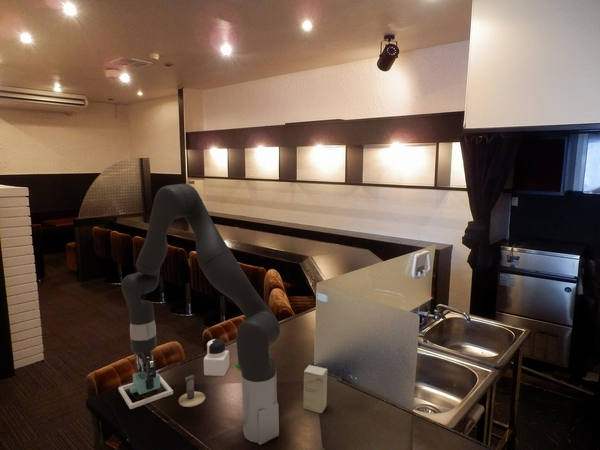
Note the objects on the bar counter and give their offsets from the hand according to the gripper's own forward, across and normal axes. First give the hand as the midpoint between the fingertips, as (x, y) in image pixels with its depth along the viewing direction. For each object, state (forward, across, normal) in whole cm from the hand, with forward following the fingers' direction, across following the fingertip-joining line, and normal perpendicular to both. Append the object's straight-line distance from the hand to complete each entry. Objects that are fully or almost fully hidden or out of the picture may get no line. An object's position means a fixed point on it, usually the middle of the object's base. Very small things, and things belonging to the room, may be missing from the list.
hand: (146, 383), depth 126 cm
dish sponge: (+4, +10, +34) cm, 36 cm away
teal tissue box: (+1, 0, 0) cm, 1 cm away
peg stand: (+4, +13, +10) cm, 17 cm away
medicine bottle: (+4, +2, +24) cm, 24 cm away
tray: (+4, 0, 0) cm, 4 cm away
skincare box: (+4, +39, +38) cm, 54 cm away
